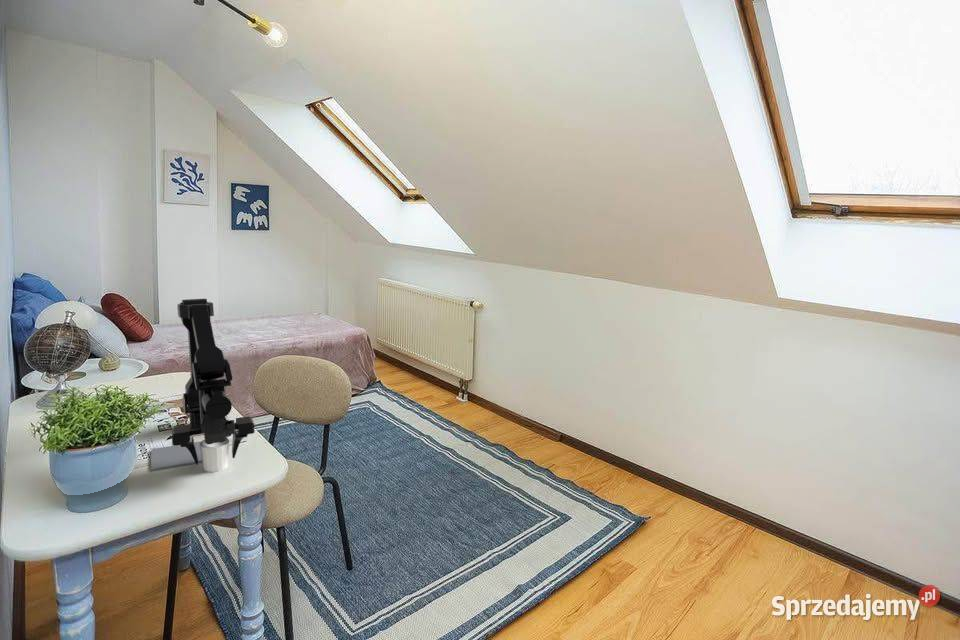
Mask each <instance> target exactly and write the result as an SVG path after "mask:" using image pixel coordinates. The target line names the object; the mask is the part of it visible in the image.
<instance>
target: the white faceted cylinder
mask: <svg viewBox="0 0 960 640" xmlns="http://www.w3.org/2000/svg"><path fill="white" fill-rule="evenodd" d="M199 442H200V441H199ZM229 447H230V439H229V438H228V437H227V440H226V441H225V442H217V443H212V444H206V443H205V439H202V440H201V442H200V450H201V456H202V461H203V463H202V465H203V466H202V467H203V469H204V471H205V472H208V473H216V472H220V471H223V470H225V469H227V467H228V465H229Z"/></svg>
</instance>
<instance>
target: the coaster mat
mask: <svg viewBox="0 0 960 640" xmlns="http://www.w3.org/2000/svg"><path fill="white" fill-rule="evenodd" d="M201 441H202V440H201ZM201 441H194V443H195V448H196V452H197V457H198V464H203V461H202V456H201V450H200V442H201ZM150 454H151V456H150V472H155V471H162V470H166V469H167V470H168V469H172V468H173V469H174V468H179V467H185V466H189V465H196V463H195V461H194V459H193V457H192V455H191V453H190V451H189V450H188V449H187V448H186V447H181V446H180V445H176V446H174V445H169V446H164V447H155V448H151V453H150Z"/></svg>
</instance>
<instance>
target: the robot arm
mask: <svg viewBox="0 0 960 640" xmlns="http://www.w3.org/2000/svg"><path fill="white" fill-rule="evenodd" d="M176 307H177V316H178V318H180V321H181V323H182V325H183V326H184V328H185V329H186V330H187V337H188V338H187V339H188V351H189V353H188V355H189V370H190V378H189V379H188V381H187V382H186V384H184V385H185V386H184V390H185V393H184V392H183V394H182V409H183V412H184V414H185V415H186V414H189V423H188V424H185V425H183V424H182V425H177V426H176V425H175V426H172V428H171V444H172V445H171V446H176V445H180V446H181V447H186V448H187V449H188V450H189V451H190V453H191V455H192V457H193V459H194V461H195V463H196V464H195V465H199V463H198V457H197V452H196V448H195V443H194V442H195V439H194V438H195V437H200V436H204V440H205V443H206V444H212V443H217V442H225V441H226V440H227V438H228V437H230V436H232V445H231V456H232V459H235V458H236V455H237V452H238V448H239V446H240V444H241V442H242V440H243V439H244V438H248V436H249V435H253V434H255V432H256V431H255V422H254V420H253V418H252V417H251V416H250V415H249V416H243V417H241V416H240V417H236V418H235V420H234V419H230V420H229V419H227V418H226V417H227V416H228V415H229V414H230V413H231V410H232V409H233V405H232V404H233V403H232V402H231V400H230V398H229V395H228V394H227V392H226V391H225V387H230V386H232V382H231V381H233V374H232V369H231V364H230V362H229V361H228V359H227V358H225V357H224V353H223V350H222V349H221V348H220V347H218V346H216V341H215V337H214V331H213V327H212V322H211V317H214V316H215V314H214V313H215V312H214V311H215V310H214V303H213V302H211V301H208V299H207V298H192V299H191V298H190V299H182V300H181V302H179V303H177V306H176ZM224 377H225V378H224Z"/></svg>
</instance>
